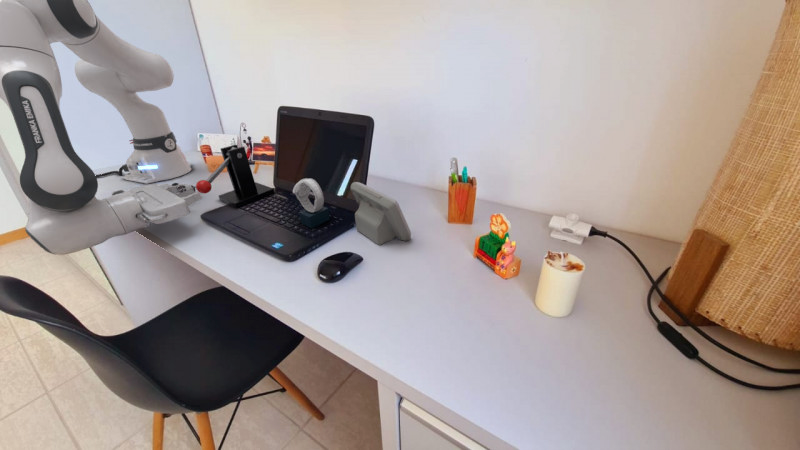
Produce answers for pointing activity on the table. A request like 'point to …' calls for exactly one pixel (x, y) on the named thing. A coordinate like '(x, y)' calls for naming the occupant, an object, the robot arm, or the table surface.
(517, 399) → the table surface
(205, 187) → the switch lever
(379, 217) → the digital clock
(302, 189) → the ring sculpture on base
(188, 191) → the robot toy
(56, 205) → the robot arm
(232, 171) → the switch bracket
